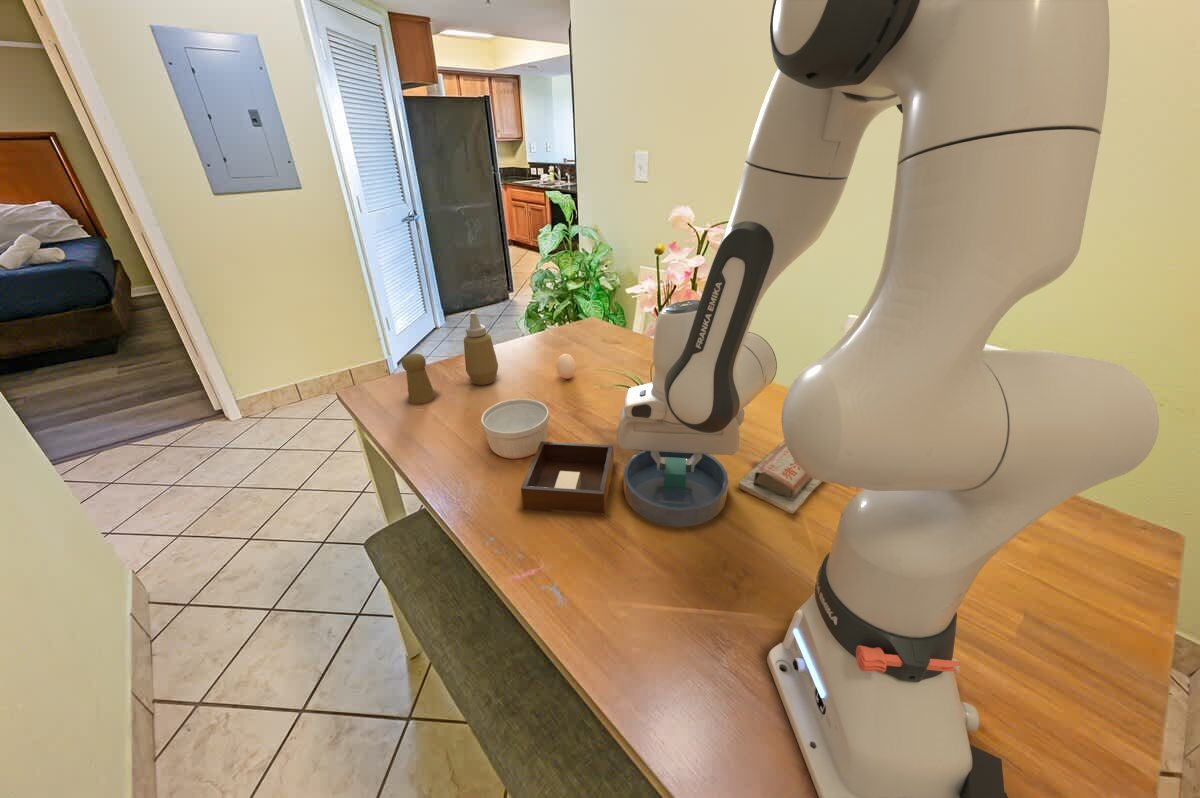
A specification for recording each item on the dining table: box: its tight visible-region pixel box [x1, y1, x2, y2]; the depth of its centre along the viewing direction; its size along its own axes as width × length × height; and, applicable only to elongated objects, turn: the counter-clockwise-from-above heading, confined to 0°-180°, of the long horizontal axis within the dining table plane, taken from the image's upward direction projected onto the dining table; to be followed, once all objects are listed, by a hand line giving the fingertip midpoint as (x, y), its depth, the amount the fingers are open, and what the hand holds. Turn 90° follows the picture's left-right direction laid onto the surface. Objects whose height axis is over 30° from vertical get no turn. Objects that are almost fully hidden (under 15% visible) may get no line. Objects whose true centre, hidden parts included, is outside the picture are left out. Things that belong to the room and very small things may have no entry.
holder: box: [520, 441, 615, 514], centre depth 83 cm, size 14×14×4 cm
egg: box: [556, 353, 577, 380], centre depth 120 cm, size 5×5×7 cm
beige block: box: [554, 471, 581, 489], centre depth 80 cm, size 5×4×3 cm
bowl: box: [623, 450, 729, 528], centre depth 80 cm, size 17×17×4 cm
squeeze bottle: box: [463, 311, 499, 386], centre depth 117 cm, size 8×8×18 cm
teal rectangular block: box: [664, 457, 686, 489], centre depth 83 cm, size 5×4×3 cm
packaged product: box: [738, 440, 823, 515], centre depth 83 cm, size 18×5×10 cm
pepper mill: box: [401, 353, 436, 405], centre depth 112 cm, size 6×6×11 cm
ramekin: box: [480, 398, 550, 460], centre depth 94 cm, size 13×13×7 cm
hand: (674, 469), depth 83 cm, fingers closed on teal rectangular block, 3 cm apart
